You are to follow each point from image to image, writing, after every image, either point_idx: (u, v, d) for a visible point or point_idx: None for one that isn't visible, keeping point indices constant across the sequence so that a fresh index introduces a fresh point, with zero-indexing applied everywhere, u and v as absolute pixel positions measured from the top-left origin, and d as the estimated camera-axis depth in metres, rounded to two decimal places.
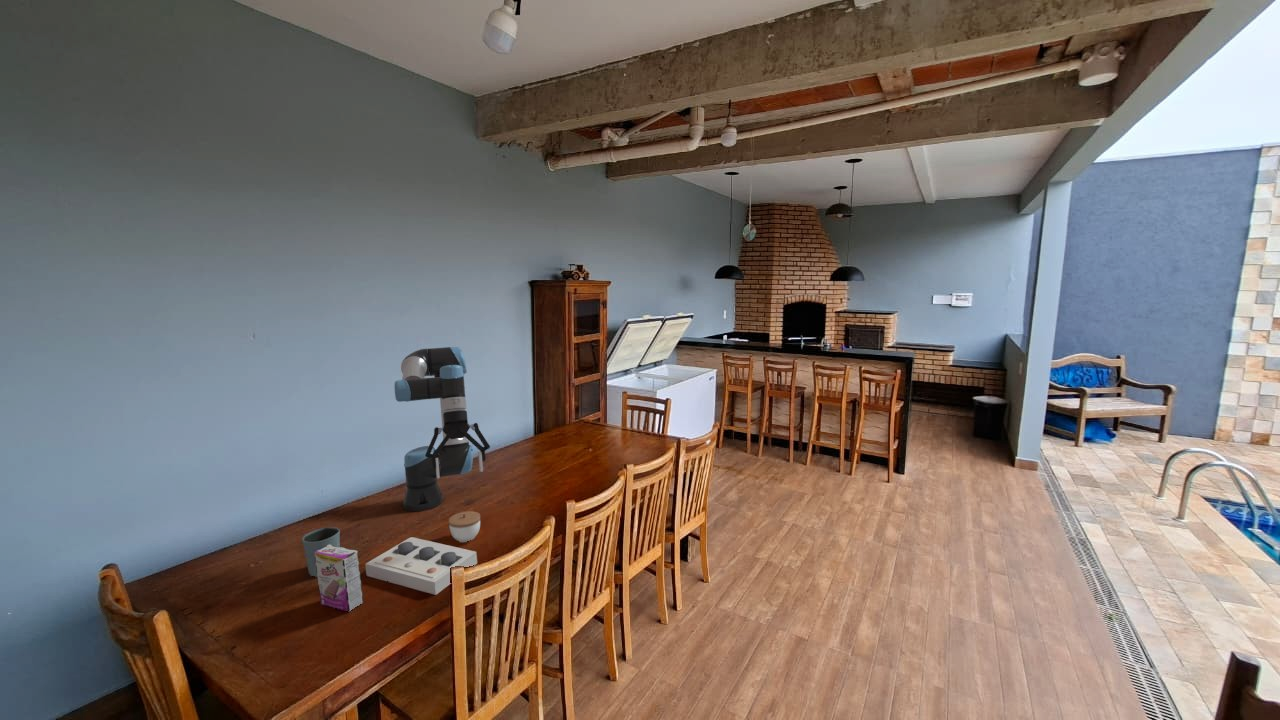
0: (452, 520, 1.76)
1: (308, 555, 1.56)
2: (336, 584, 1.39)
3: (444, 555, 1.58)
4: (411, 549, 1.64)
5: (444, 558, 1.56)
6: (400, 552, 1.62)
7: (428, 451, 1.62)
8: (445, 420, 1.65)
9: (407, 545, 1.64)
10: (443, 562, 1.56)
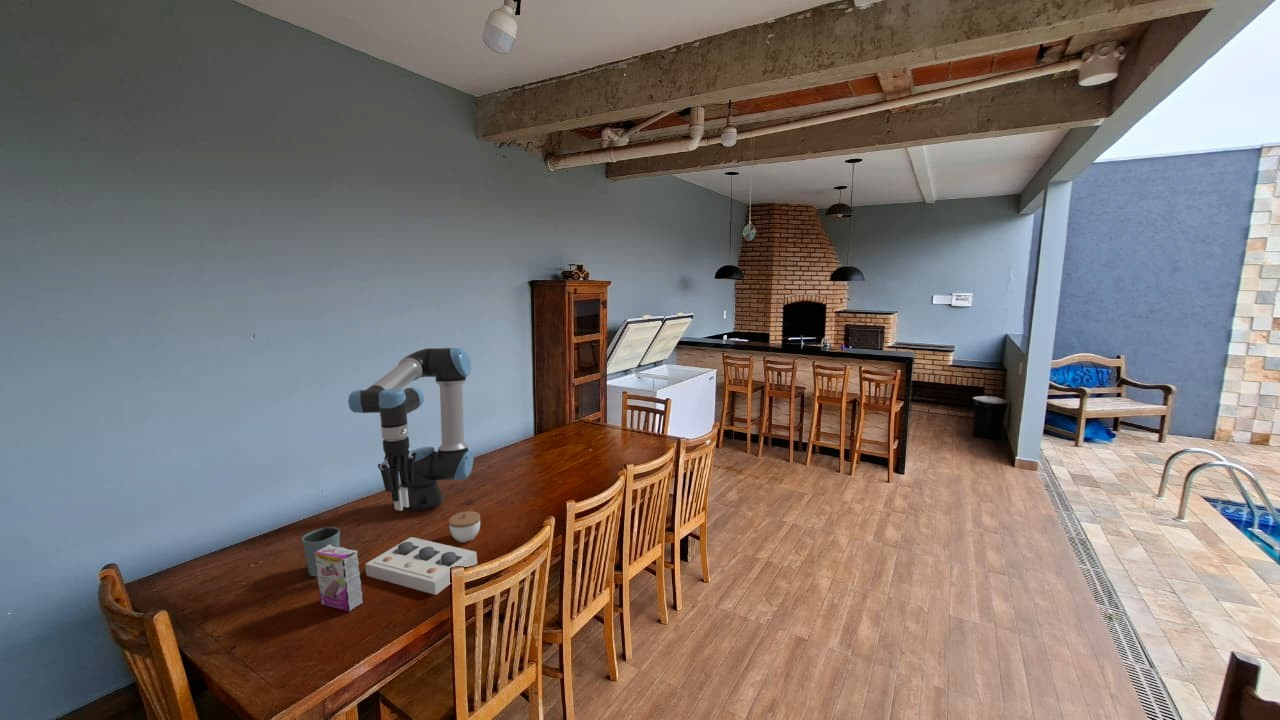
0: (452, 520, 1.76)
1: (308, 555, 1.56)
2: (336, 584, 1.39)
3: (444, 555, 1.58)
4: (411, 549, 1.64)
5: (444, 558, 1.56)
6: (400, 552, 1.62)
7: (391, 487, 1.57)
8: (391, 450, 1.56)
9: (407, 545, 1.64)
10: (443, 562, 1.56)
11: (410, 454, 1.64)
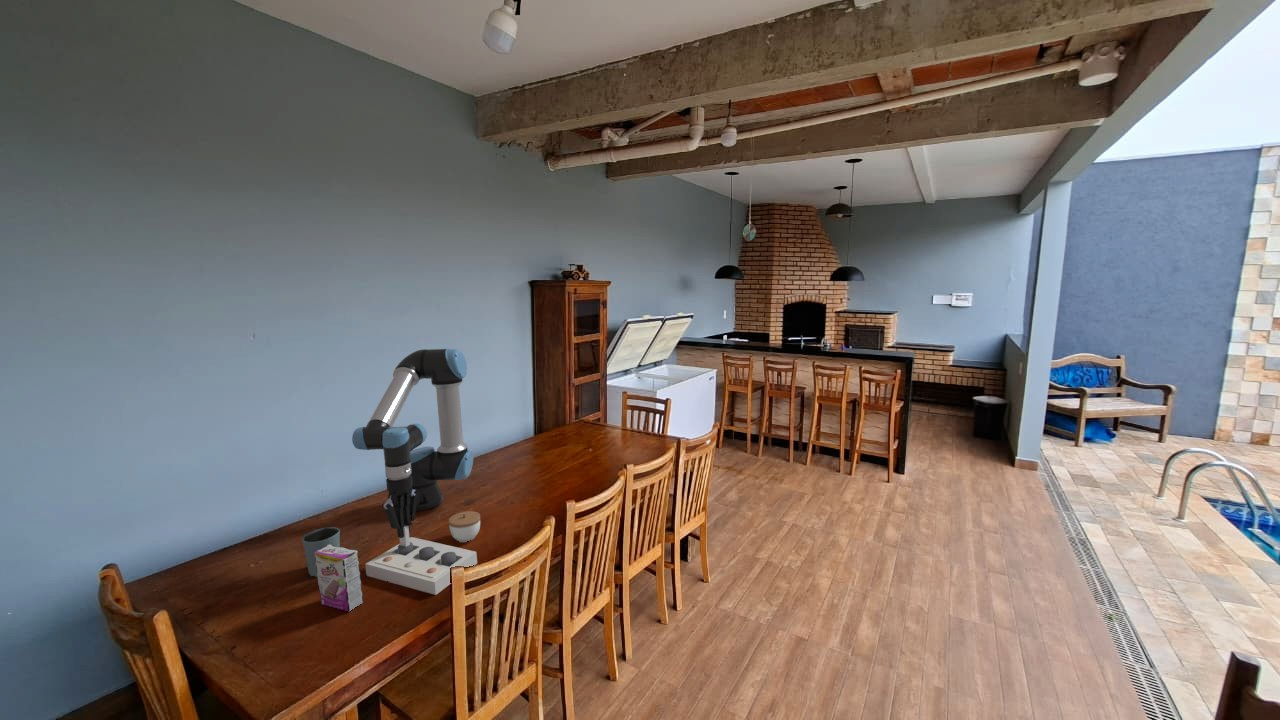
0: (452, 520, 1.76)
1: (308, 555, 1.56)
2: (336, 584, 1.39)
3: (444, 555, 1.58)
4: (411, 549, 1.64)
5: (444, 558, 1.56)
6: (400, 552, 1.62)
7: (396, 524, 1.59)
8: (395, 489, 1.57)
9: None
10: (443, 562, 1.56)
11: (413, 492, 1.66)
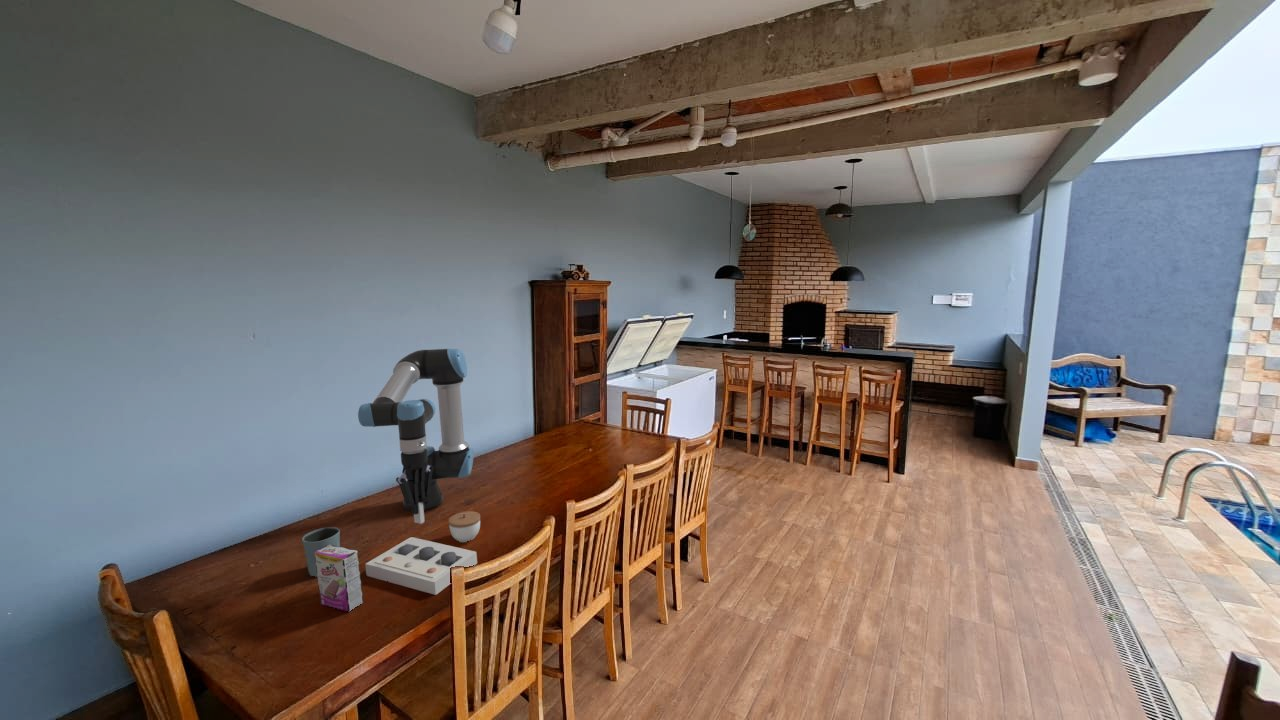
0: (452, 520, 1.76)
1: (308, 555, 1.56)
2: (336, 584, 1.39)
3: (444, 555, 1.58)
4: None
5: (444, 558, 1.56)
6: None
7: (411, 500, 1.54)
8: (409, 463, 1.53)
9: (407, 548, 1.64)
10: (443, 562, 1.56)
11: (428, 467, 1.61)
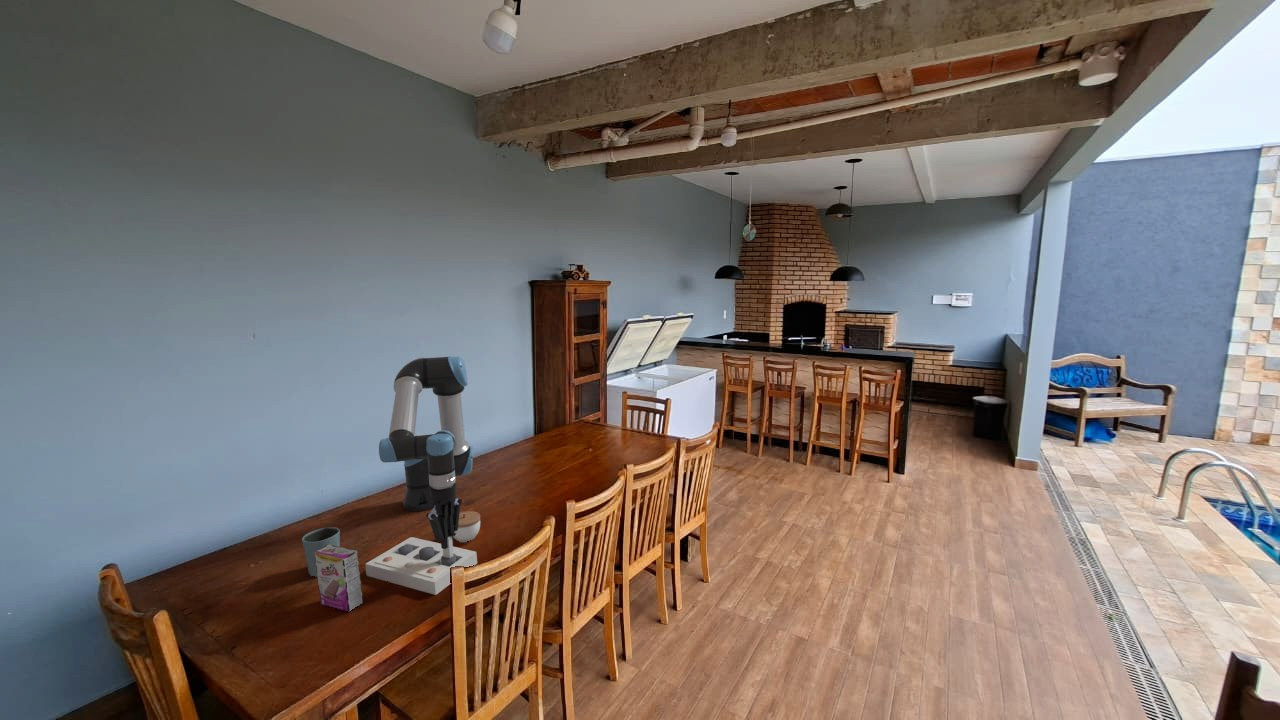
0: None
1: (308, 555, 1.56)
2: (336, 584, 1.39)
3: None
4: None
5: (445, 560, 1.56)
6: None
7: (441, 535, 1.52)
8: (439, 498, 1.51)
9: (407, 548, 1.64)
10: (443, 563, 1.56)
11: (456, 501, 1.59)
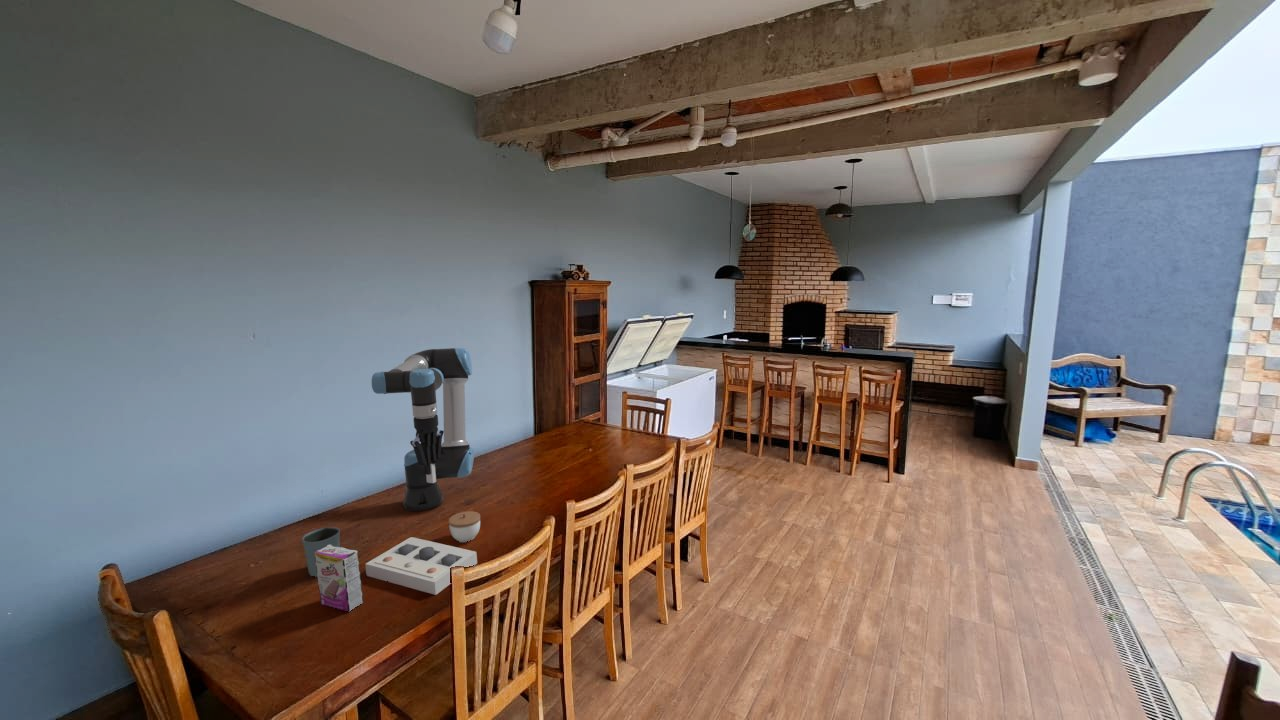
0: (452, 520, 1.76)
1: (308, 555, 1.56)
2: (336, 584, 1.39)
3: (444, 558, 1.58)
4: None
5: (445, 562, 1.56)
6: None
7: (424, 461, 1.66)
8: (422, 427, 1.64)
9: (407, 548, 1.64)
10: None
11: (438, 431, 1.72)
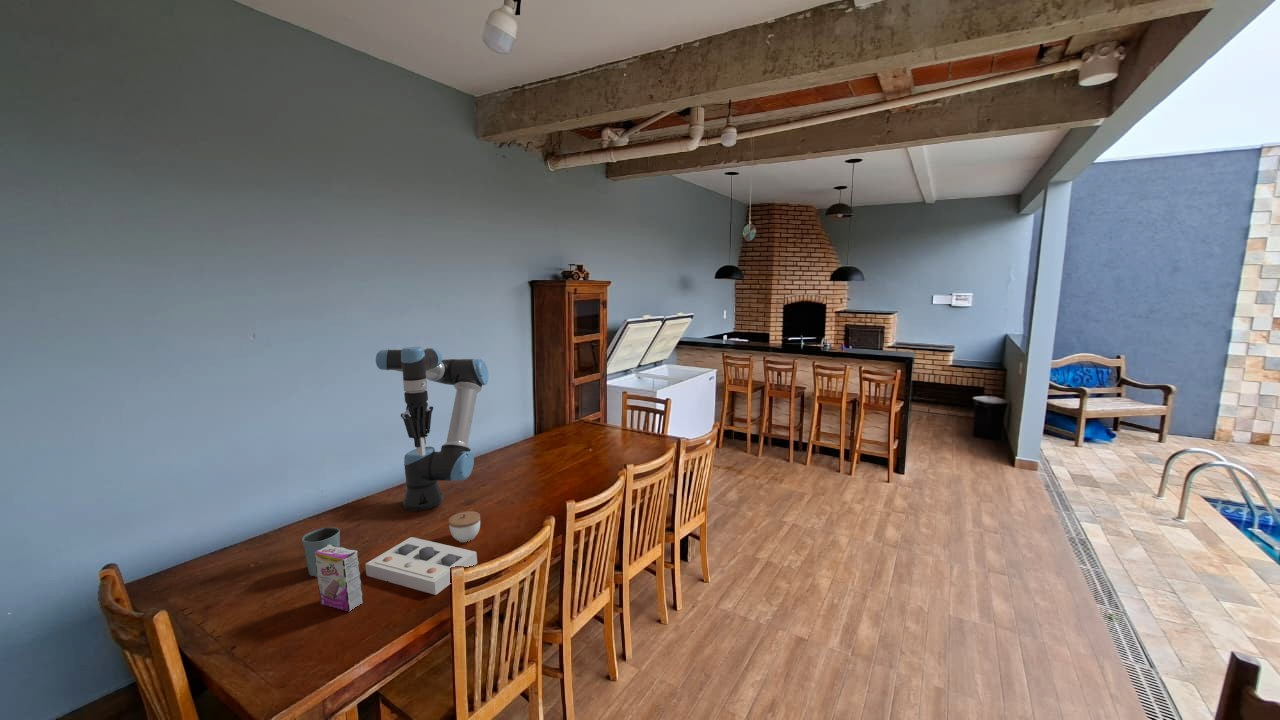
0: (452, 520, 1.76)
1: (308, 555, 1.56)
2: (336, 584, 1.39)
3: (444, 558, 1.58)
4: None
5: (445, 562, 1.56)
6: None
7: (413, 434, 1.76)
8: (412, 401, 1.74)
9: (407, 548, 1.64)
10: None
11: (428, 407, 1.82)
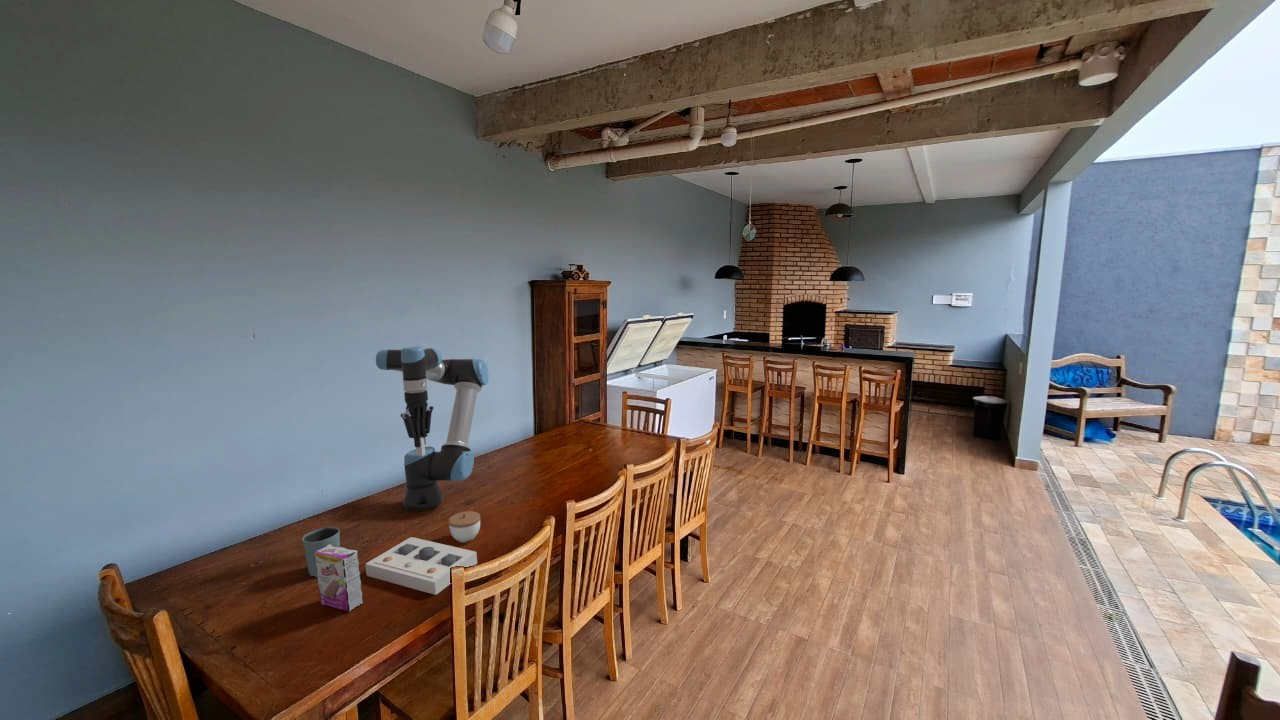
0: (452, 520, 1.76)
1: (308, 555, 1.56)
2: (336, 584, 1.39)
3: (444, 558, 1.58)
4: None
5: (445, 562, 1.56)
6: None
7: (413, 434, 1.76)
8: (412, 401, 1.74)
9: (407, 548, 1.64)
10: None
11: (428, 407, 1.82)
